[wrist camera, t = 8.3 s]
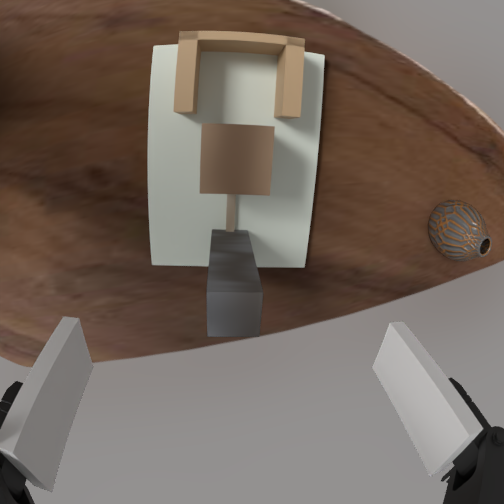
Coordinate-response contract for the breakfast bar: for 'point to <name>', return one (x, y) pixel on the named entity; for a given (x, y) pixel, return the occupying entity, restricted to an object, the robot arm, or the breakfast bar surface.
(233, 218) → the tether block
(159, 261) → the white board with bracket
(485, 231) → the vase
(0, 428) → the robot arm
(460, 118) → the breakfast bar surface
